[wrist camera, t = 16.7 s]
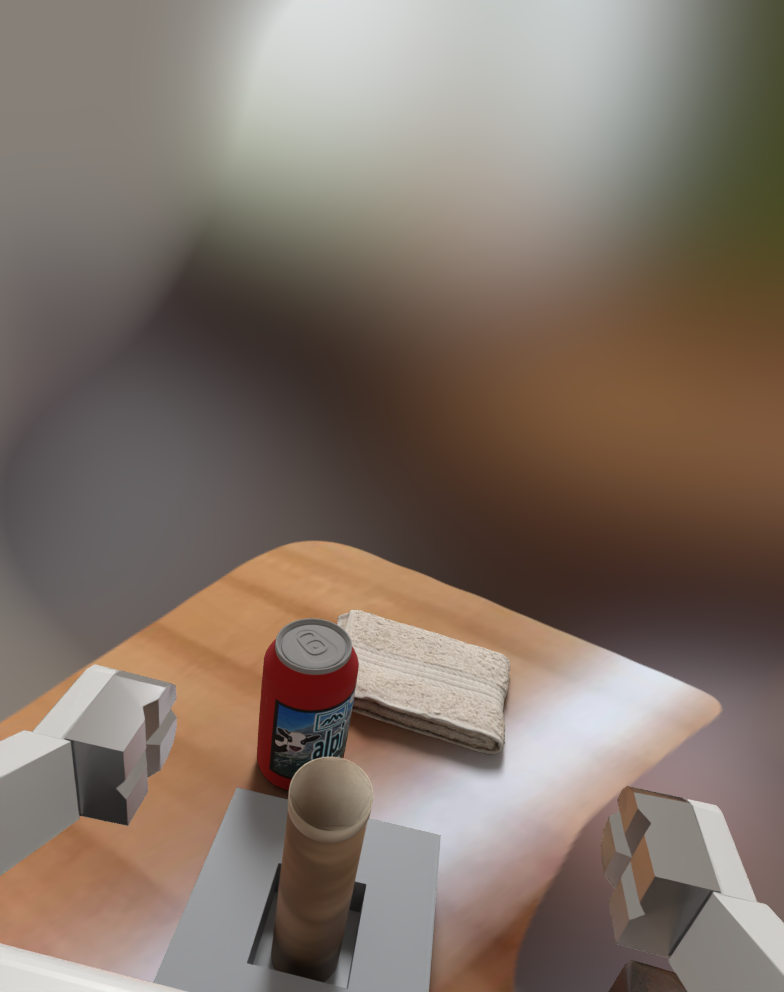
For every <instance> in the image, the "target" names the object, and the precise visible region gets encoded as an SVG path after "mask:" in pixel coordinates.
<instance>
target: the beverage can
mask: <svg viewBox="0 0 784 992" xmlns="http://www.w3.org/2000/svg"><path fill="white" fill-rule="evenodd" d="M358 669H359V661H358V657H357V654H356V652H355V650H354V648H353V646H352V642H351V639H350V637H349V635H348V634H347V632H346V631H345V630H344V629H343V628H341V627H340V626H338V625H336V624H334V623H332V622H330V621H327V620H322V619H314V618H309V619H301V620H297V621H294V622H292V623H289V624H288V625H286V626H285V627H283V628H282V629H281V630H280V632H279V633H278V635H277V637H276V639H275V640H274V641H273V642H272V644H271V645H270V646H269V648H268V649H267V651H266V654H265V657H264V666H263V677H262V689H261V701H260V715H259V730H258V747H257V760H258V765H259V767H260V770H261V772H262V773H263V775H264V776H265V777H266V778H267V779H268V780H269V781H270V782H271V783H273V784H274V785H276V786H278V787H280V788H283V789H286V790H289V787H290V783H291V781H292V778H293V777H294V775H295V773H296V772H297V771H298V770H299V769H300V768H301V767H302V766H303V765H305V764H306V763H308V762H310V761H312V760H314V759H317V758H322V757H338V758H343V757H344V752H345V747H346V741H347V736H348V730H349V725H350V719H351V713H352V707H353V701H354V695H355V689H356V682H357V676H358Z"/></svg>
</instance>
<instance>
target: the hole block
mask: <svg viewBox="0 0 784 992" xmlns="http://www.w3.org/2000/svg"><path fill="white" fill-rule="evenodd" d="M287 813H288V799H284V798H280V797H275V796H271V795H267V794H262V793H258V792H254V791H250V790H245V789H241V788H236V791H235V793H234V795H233V798H232V800H231V802H230V805H229V807H228V809H227V812H226V814H225V816H224V819H223V821H222V823H221V826H220V828H219V830H218V833H217V835H216V837H215V840H214V842H213V844H212V847H211V849H210V851H209V854H208V856H207V858H206V861H205V863H204V865H203V868H202V870H201V872H200V875H199V877H198V879H197V882H196V884H195V886H194V889H193V891H192V893H191V896H190V898H189V900H188V903H187V905H186V908H185V910H184V912H183V915H182V917H181V919H180V922H179V924H178V926H177V929H176V931H175V933H174V936H173V938H172V940H171V943H170V945H169V947H168V950H167V952H166V954H165V957H164V959H163V961H162V964H161V966H160V968H159V971H158V973H157V975H156V978H155V980H154V982H153V983H157V984H161V985H165V986H168V987H172V988H176V989H180V990H184V991H188V992H429V982H430V969H431V956H432V942H433V929H434V916H435V902H436V889H437V876H438V862H439V849H440V836H441V835H437V834H433V833H429V832H425V831H420V830H416V829H412V828H407V827H403V826H399V825H395V824H390V823H386V822H382V821H378V820H373V819H368V821H367V826H366V831H365V836H364V840H363V845H362V850H361V855H360V860H359V864H358V869H357V874H356V879H355V883H354V888H353V893H352V898H351V903H350V907H349V912H348V917H347V922H346V927H345V931H344V936H343V941H342V946H341V950H340V955H339V960H338V963H337V966H336V968H335V970H334V972H333V973H332V975H331V976H330V977H329V978H328V979H327V980H326V981H325V982H324V983H323V982H319V981H315V980H311V979H307V978H304V977H300V976H296V975H292V974H288V973H284V972H280V971H276V970H275V969H274V966H273V963H272V956H271V951H272V942H273V933H274V925H275V916H276V908H277V899H278V890H279V882H280V873H281V865H282V856H283V847H284V839H285V830H286V822H287Z"/></svg>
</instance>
